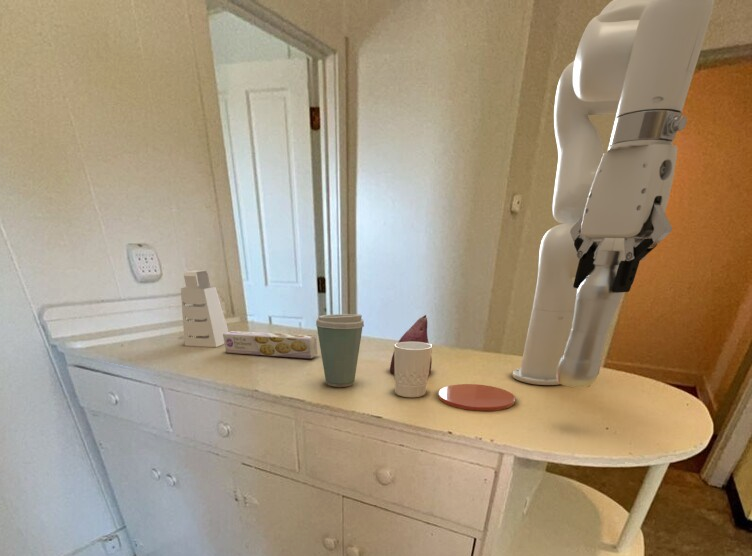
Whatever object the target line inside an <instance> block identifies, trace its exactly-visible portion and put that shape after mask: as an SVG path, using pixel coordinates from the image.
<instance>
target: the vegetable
mask: <svg viewBox="0 0 752 556" xmlns="http://www.w3.org/2000/svg"><path fill="white" fill-rule="evenodd" d="M400 342H423V343H428V344H430V343H429V338H428V318H427V314H425V315H423V316H421V317H419V318H418V319H417V320H416V321H415V322H414V324H413V325H411V327H410V328H408V329H407V330H406V332H405V333H404V334H403V335H402V336H401V337H400V338H399V340H398V341H397V343H400ZM432 359H433V358H432V357H431V361H430V369H429V375H430V374H431V373H432ZM394 371H395V369H394V352H392V356H391V360H390V365H389V372H390V373H391V374H393V375H395V374H394Z"/></svg>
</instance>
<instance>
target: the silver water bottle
mask: <svg viewBox="0 0 752 556" xmlns="http://www.w3.org/2000/svg"><path fill="white" fill-rule="evenodd" d="M623 254H624V251H612V250H597V252H596V256H595V260H594V262H593V264H595V266H594V269H593V270H592V271H591V272H590V273H589V274H588V275H587V276H586V278H585V279H584V280H583V281H582V283H581V284H580V286H579V288H577V289H576V290H577V294H576V296H577V297H576V302H575V310H574V317H573V322H572V329H571V332H570V336H569V339H568V342H567V345H566V348H565V351H564V354H563V356H562V358H561V360H560V362H559V364H558V367H557V372H556V378H557V381H558V383H560V384H559V385H562V386H565V387H570V388H588V387H591V386H592V385H593V384H594V383H595V382H596V381H597V379H598V377H599V375H600V371H601V363H602V361H601V360H602V359H601V358H602V356H603V355H602V354H603V351H604V346H605V341H606V338H607V334H608V329H609V328H610V326H611V323H612V320H613V317H614V315H615V313H616V311H617V309H618V307H619V304H620V302H621V300H622V298H623V295H624V292H620V293H615V292H613V291H612V288H613V284H614V281H615V277H616V274H617V270H618V267H619V263H620V262H621V261H622V258H623Z"/></svg>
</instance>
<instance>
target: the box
mask: <svg viewBox="0 0 752 556" xmlns="http://www.w3.org/2000/svg"><path fill="white" fill-rule="evenodd" d="M317 336H318V335H313V334H312V335H310V334H297V333H296V334H295V333H278V332H277V333H276V332H257V331H256V332H255V331H240V330H239V331H237V330H232V331H229V332H228V333H224V334H223V338H224V348H225V353H228V354H241V355H255V356H267V357H269V356H270V357H271V356H272V357H284V358H298V359H309V360H310V359H312V358H314V357H316V356H318V355H319V352H318V337H317Z"/></svg>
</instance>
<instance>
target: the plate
mask: <svg viewBox="0 0 752 556" xmlns="http://www.w3.org/2000/svg"><path fill="white" fill-rule="evenodd" d="M437 396H438V399H439V400H440V401H441V402H442V403H443V404H446V405H447V406H451V407H454V408H458V409H461V410H462V409H463V410H466V411H467V410H468V411H477V412H478V411H479V412H493V411H494V412H495V411H501V410H506V409H509V408H511V407H513V406H514V405H515V402H516V396H515V395H514V394H513V393H512V392H510V391H508V390H506V389H503V388H500V387H496V386H492V385H486V384H475V383H461V384H459V383H458V384H452V385H448V386H444V387H442V388H441V389H440V390H439V391H438V395H437Z"/></svg>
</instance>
